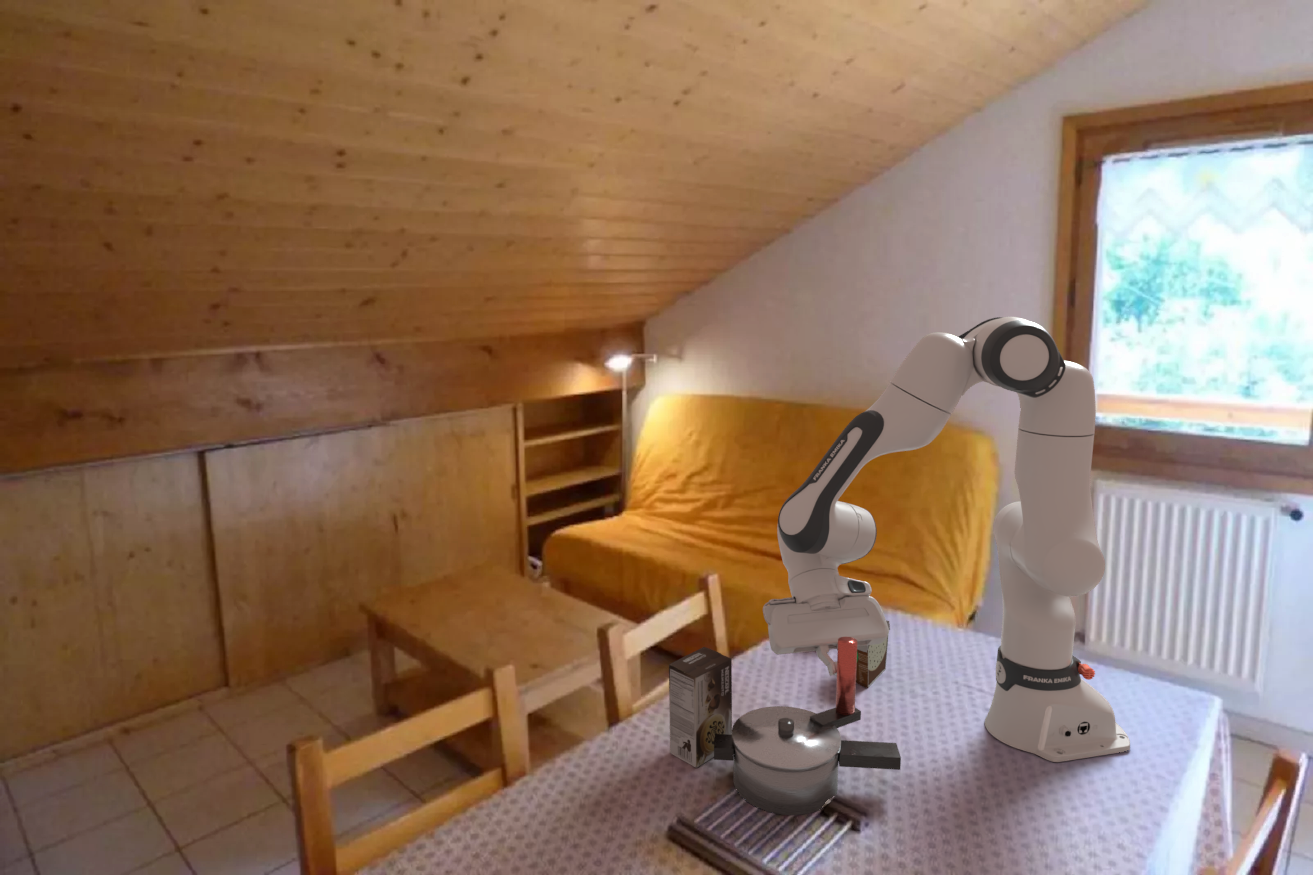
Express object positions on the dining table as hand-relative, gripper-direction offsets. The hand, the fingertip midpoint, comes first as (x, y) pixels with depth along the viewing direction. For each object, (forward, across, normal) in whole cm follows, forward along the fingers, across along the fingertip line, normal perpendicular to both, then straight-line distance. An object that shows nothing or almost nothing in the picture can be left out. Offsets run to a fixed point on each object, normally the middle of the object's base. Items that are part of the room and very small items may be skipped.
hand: (839, 673), depth 134 cm
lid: (+9, -9, +1) cm, 12 cm away
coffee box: (+6, -22, +13) cm, 27 cm away
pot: (+15, -9, +4) cm, 18 cm away
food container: (-7, +16, +27) cm, 32 cm away
